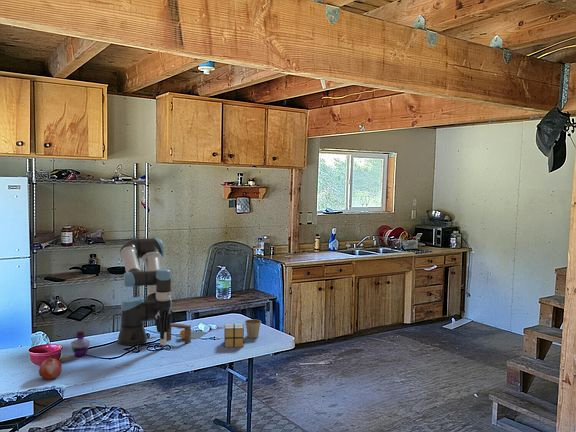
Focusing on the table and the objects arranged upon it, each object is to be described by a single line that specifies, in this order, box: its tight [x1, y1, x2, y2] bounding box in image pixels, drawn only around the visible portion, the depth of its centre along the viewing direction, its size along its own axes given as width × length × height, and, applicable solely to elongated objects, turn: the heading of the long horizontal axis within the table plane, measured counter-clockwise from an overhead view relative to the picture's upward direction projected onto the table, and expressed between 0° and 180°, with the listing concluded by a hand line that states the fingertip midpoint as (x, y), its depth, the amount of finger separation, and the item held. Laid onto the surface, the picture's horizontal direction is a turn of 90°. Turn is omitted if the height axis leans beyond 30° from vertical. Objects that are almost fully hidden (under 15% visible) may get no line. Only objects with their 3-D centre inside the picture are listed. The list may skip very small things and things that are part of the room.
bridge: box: [166, 322, 192, 345], centre depth 274 cm, size 3×14×9 cm, turn 68°
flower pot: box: [244, 318, 262, 339], centre depth 285 cm, size 9×9×9 cm
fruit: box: [38, 355, 63, 381], centre depth 220 cm, size 9×10×10 cm
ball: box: [179, 328, 185, 340], centre depth 280 cm, size 6×6×6 cm
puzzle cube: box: [223, 323, 245, 348], centre depth 271 cm, size 10×10×10 cm
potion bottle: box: [70, 330, 91, 358], centre depth 249 cm, size 9×9×12 cm
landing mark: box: [176, 330, 208, 340], centre depth 288 cm, size 13×13×1 cm
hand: (163, 344), depth 262 cm, fingers closed
